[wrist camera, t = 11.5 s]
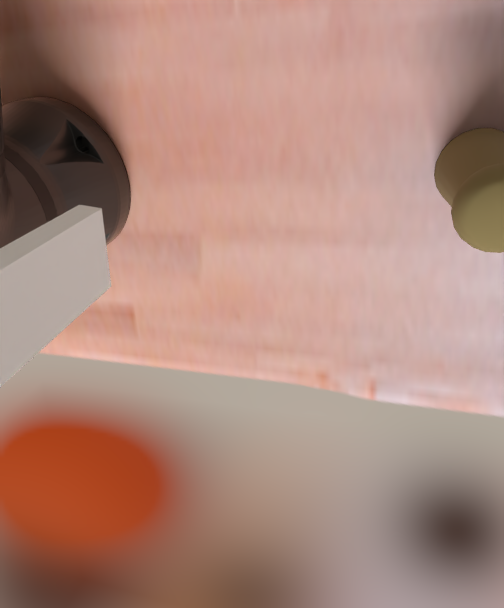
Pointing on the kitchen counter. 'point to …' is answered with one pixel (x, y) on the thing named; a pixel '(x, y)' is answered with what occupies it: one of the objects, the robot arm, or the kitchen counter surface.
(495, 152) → the olive pepper mill
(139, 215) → the kitchen counter surface
